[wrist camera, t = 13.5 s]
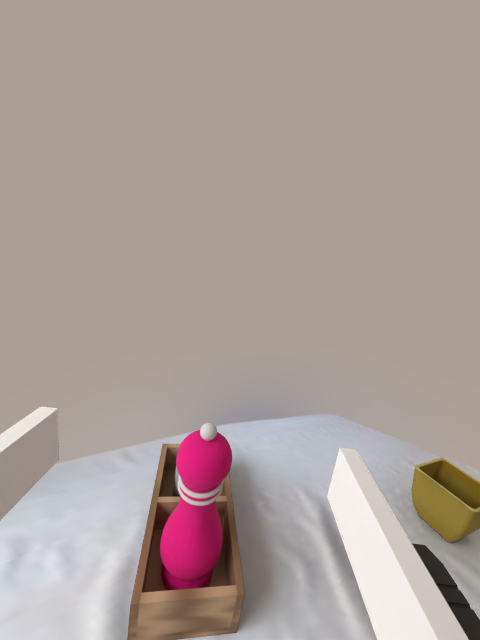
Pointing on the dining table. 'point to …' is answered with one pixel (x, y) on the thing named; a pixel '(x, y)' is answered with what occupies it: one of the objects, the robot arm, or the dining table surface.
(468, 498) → the flower pot
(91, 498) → the dining table surface
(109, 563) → the dining table surface
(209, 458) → the pepper mill
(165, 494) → the caddy
